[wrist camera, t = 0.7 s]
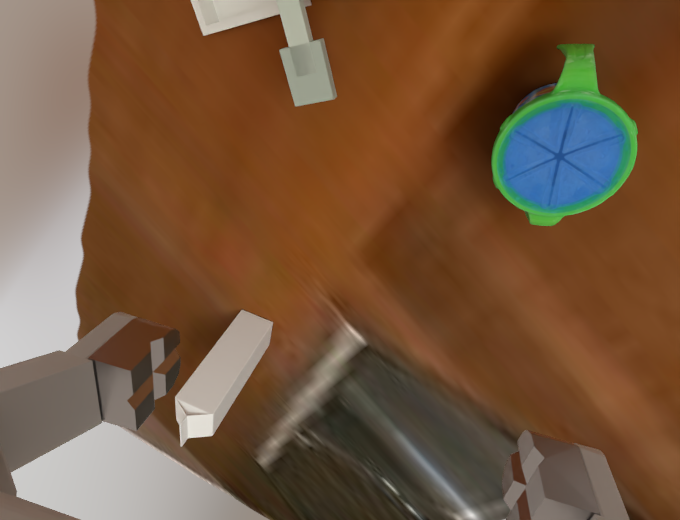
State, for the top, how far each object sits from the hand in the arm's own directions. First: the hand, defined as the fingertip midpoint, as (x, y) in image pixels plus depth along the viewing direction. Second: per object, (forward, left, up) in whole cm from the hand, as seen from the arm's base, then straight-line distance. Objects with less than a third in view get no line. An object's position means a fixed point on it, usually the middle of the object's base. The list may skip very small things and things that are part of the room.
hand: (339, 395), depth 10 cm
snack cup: (-7, +7, -41) cm, 42 cm away
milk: (+39, +36, -41) cm, 67 cm away
